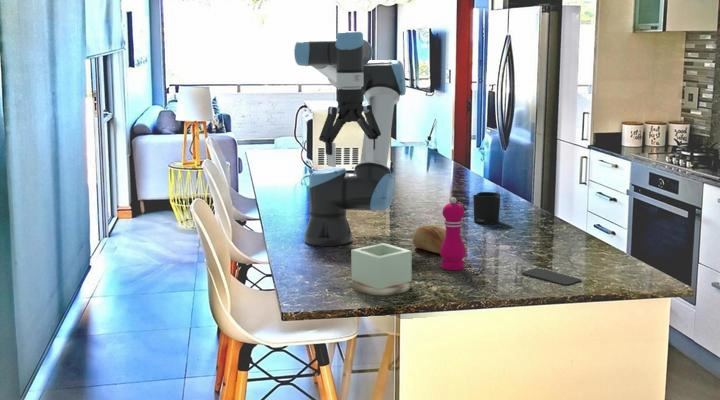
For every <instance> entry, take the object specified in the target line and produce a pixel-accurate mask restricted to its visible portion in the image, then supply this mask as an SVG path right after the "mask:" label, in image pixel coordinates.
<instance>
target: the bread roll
mask: <svg viewBox="0 0 720 400" xmlns="http://www.w3.org/2000/svg"><path fill="white" fill-rule="evenodd" d="M445 235H446V228H443V226H438V225H434V224H432V225H431V224H428V225H421V226H419V227H417V229H416V230H415V232H414V235H413V237H412V244H413V245H414V247H416V248H417V249H421V250H424V251H428V252H431V253H434V254H439V255H440V248H441V245H442V243H443V241H444V238H445Z"/></svg>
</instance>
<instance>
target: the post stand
mask: <svg viewBox="0 0 720 400" xmlns="http://www.w3.org/2000/svg"><path fill="white" fill-rule="evenodd" d="M352 289H353V290H354V291H355V292H357V293H360V294H364V295H368V296H369V295H370V296H394V295H395V296H396V295H399V294H403V293H406V292H407V291H409V290H410V289H411V281H409V282H405V283H401V284H398V285H394V286H390V287H386V288H382V289H377V288H374V287H371V286H368V285H365V284H363V283H360V282H357V281H354V280H352Z"/></svg>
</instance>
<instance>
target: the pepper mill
mask: <svg viewBox="0 0 720 400" xmlns="http://www.w3.org/2000/svg"><path fill="white" fill-rule="evenodd" d="M457 202H458V200H457V198H456V197H451V198H450V202H449V203H447V204H444V206H443V208H442V216H443V218H444V220H443V222H444V223H443V225H444V226H445V230H446V235H445V238H444V241H443V243H442V245H441V248H440V254H439V255H440V257H441V258H442V260H441V268H442V269H443V270H447V271H460V270H463V269H464V268H465V267H464V266H465V262H464V260H463V259H464V258H465V257H466V247H465V244H464V243H463V239H462V236H461V227H462V226H463V220H462V219H463V218H464V216H465V210H464V206H462V204H460V203H457Z"/></svg>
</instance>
